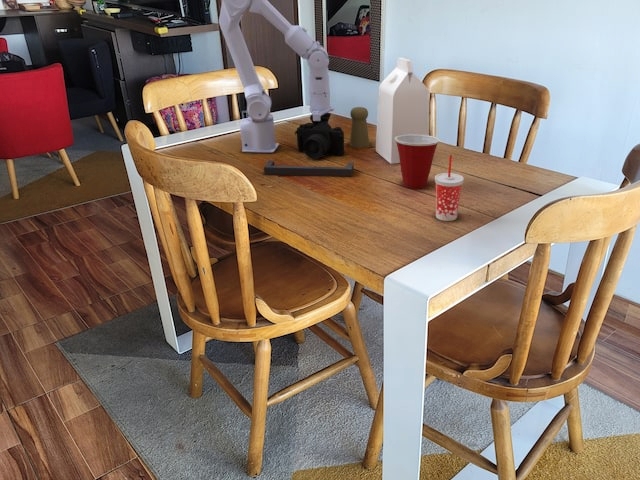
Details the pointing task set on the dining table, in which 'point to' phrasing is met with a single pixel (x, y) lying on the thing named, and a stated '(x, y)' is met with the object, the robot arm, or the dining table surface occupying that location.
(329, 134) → the film camera
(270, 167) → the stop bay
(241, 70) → the robot arm
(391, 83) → the milk
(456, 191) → the beverage cup
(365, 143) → the cork
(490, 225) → the dining table surface
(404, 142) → the plastic cup
